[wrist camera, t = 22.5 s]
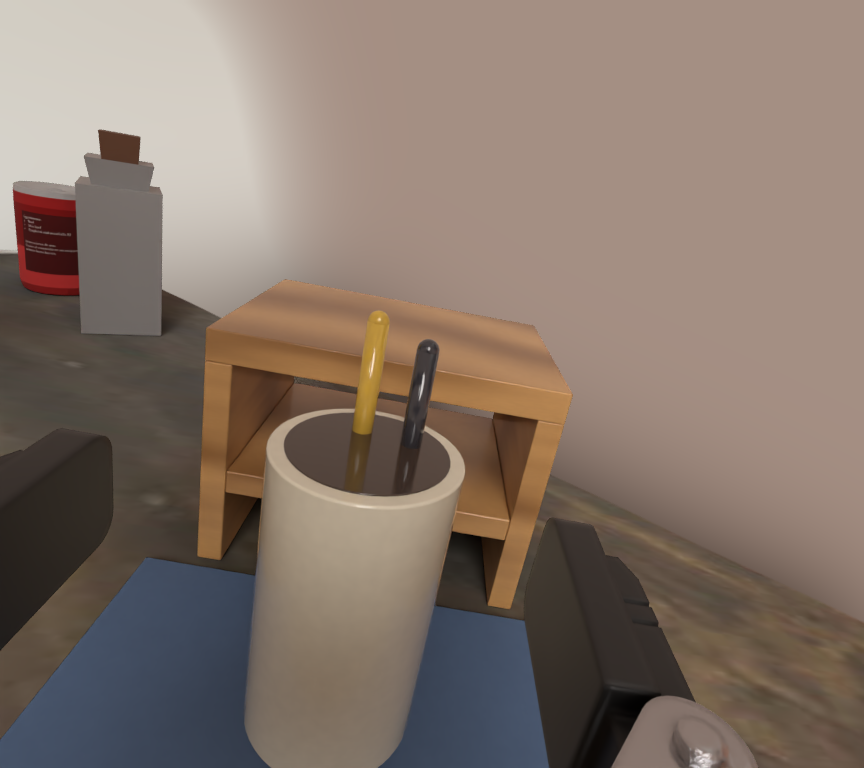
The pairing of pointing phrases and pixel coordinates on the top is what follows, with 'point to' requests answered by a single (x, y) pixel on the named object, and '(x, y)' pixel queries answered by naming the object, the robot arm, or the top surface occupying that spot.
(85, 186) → the perfume bottle
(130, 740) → the mat
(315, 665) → the holder
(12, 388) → the top surface
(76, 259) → the canned food
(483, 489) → the wooden shelf box
